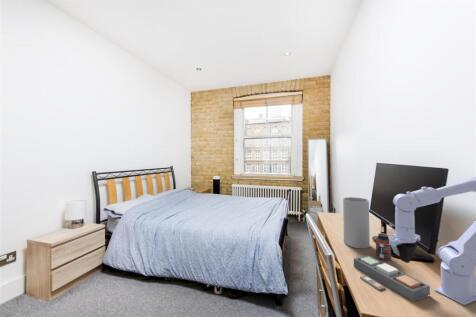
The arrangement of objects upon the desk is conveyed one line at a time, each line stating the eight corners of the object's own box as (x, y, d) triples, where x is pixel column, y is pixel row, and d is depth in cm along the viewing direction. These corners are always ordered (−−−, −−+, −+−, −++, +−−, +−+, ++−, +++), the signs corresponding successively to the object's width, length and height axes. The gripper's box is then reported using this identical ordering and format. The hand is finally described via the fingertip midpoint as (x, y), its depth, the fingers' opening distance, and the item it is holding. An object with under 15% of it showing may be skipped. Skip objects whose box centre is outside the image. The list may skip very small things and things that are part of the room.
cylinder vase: (367, 241, 116) (366, 198, 115) (371, 250, 104) (370, 202, 104) (343, 238, 121) (342, 196, 121) (344, 246, 110) (343, 201, 109)
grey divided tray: (368, 262, 93) (368, 255, 93) (429, 295, 71) (429, 286, 71) (353, 266, 91) (353, 258, 91) (413, 301, 68) (413, 291, 68)
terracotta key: (405, 282, 77) (405, 274, 77) (420, 291, 72) (420, 282, 72) (395, 285, 75) (395, 277, 75) (410, 294, 70) (410, 285, 70)
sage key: (368, 263, 91) (368, 256, 91) (379, 268, 86) (379, 262, 86) (360, 265, 89) (360, 258, 89) (370, 271, 85) (370, 264, 85)
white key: (385, 270, 84) (385, 263, 84) (398, 277, 79) (398, 269, 79) (376, 272, 82) (376, 265, 82) (389, 279, 78) (388, 271, 78)
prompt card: (365, 276, 83) (365, 275, 83) (385, 289, 75) (385, 287, 75) (360, 278, 82) (360, 276, 82) (379, 290, 74) (379, 289, 74)
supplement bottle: (384, 262, 94) (384, 237, 93) (372, 255, 99) (372, 233, 99) (394, 259, 95) (394, 236, 95) (382, 254, 101) (381, 231, 101)
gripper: (405, 220, 83) (406, 253, 83) (380, 225, 78) (381, 260, 78) (426, 225, 76) (427, 261, 76) (400, 231, 71) (401, 269, 72)
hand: (405, 261), depth 77 cm, fingers closed
